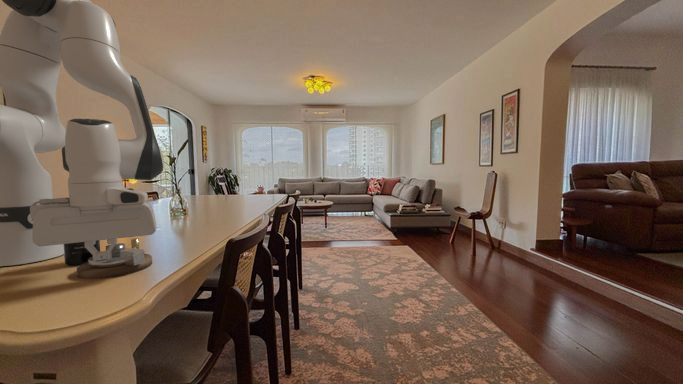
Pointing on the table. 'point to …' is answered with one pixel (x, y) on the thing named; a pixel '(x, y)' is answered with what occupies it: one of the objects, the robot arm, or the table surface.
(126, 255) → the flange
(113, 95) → the robot arm
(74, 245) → the supplement bottle
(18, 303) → the table surface
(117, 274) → the walnut base
